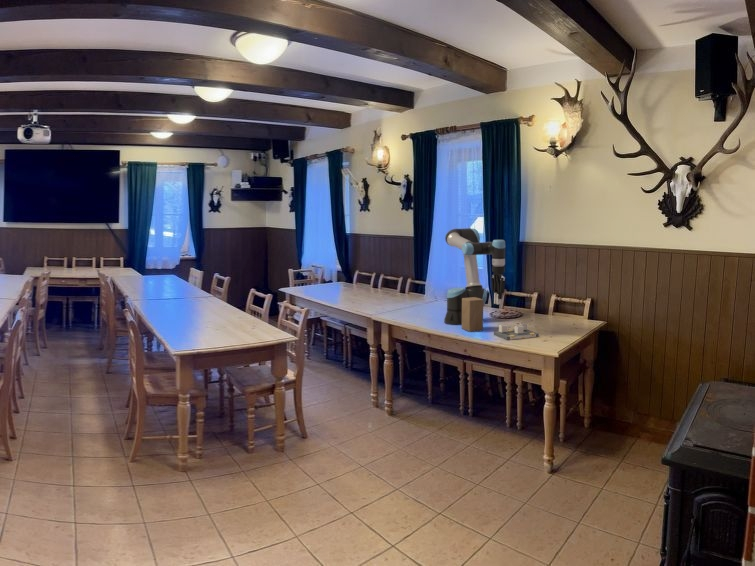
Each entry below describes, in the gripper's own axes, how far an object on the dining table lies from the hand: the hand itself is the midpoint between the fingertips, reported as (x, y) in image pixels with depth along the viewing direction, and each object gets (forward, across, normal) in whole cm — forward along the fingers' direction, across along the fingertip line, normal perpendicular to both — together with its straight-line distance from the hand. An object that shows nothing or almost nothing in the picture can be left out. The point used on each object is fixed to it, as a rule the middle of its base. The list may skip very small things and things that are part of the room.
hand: (497, 303), depth 313 cm
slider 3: (+16, +7, +14) cm, 22 cm away
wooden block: (+19, -14, -9) cm, 25 cm away
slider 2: (+16, +12, +7) cm, 21 cm away
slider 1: (+16, +7, 0) cm, 17 cm away
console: (+18, +10, +7) cm, 22 cm away
